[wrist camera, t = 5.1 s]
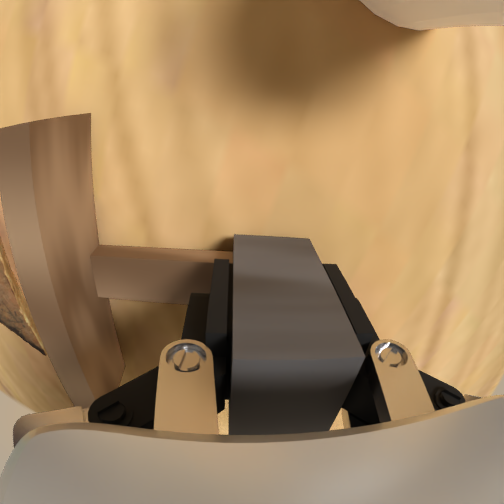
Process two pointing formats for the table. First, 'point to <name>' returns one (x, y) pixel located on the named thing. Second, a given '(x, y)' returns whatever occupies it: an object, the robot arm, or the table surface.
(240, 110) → the table surface
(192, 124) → the table surface
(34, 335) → the shard
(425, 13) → the shot glass
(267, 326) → the wall doorstop
